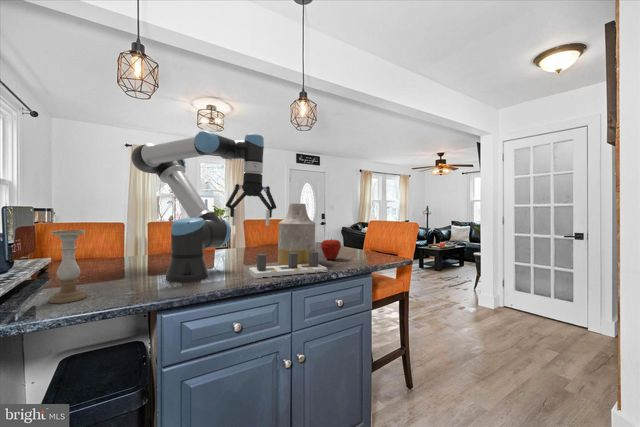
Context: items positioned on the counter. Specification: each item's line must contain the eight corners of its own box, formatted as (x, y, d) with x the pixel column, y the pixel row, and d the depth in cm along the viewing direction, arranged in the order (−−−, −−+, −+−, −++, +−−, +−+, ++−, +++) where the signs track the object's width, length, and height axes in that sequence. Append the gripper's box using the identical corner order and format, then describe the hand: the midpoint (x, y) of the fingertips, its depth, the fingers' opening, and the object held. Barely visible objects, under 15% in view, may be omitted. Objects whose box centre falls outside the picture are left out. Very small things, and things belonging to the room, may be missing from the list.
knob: (312, 266, 132) (312, 252, 132) (309, 264, 136) (309, 251, 135) (318, 265, 134) (318, 252, 133) (315, 264, 137) (315, 251, 137)
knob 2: (290, 267, 128) (291, 253, 128) (288, 266, 131) (288, 252, 131) (297, 267, 129) (297, 253, 129) (294, 265, 133) (294, 252, 133)
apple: (331, 257, 170) (332, 236, 170) (344, 260, 162) (345, 238, 162) (316, 259, 163) (317, 237, 163) (329, 262, 155) (330, 239, 155)
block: (258, 269, 122) (258, 255, 122) (256, 268, 126) (257, 254, 125) (265, 269, 124) (266, 255, 123) (263, 267, 127) (263, 253, 127)
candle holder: (44, 299, 87) (44, 230, 87) (81, 293, 94) (81, 229, 94) (54, 305, 82) (54, 232, 82) (92, 298, 89) (92, 231, 89)
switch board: (254, 278, 117) (254, 272, 117) (248, 272, 128) (248, 266, 128) (327, 272, 131) (327, 267, 131) (316, 267, 142) (316, 262, 142)
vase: (308, 268, 138) (309, 203, 137) (271, 266, 143) (272, 202, 142) (318, 262, 156) (319, 204, 155) (286, 259, 160) (286, 203, 160)
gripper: (222, 169, 111) (220, 226, 112) (285, 175, 122) (283, 226, 123) (219, 171, 118) (217, 224, 118) (279, 176, 129) (277, 225, 130)
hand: (251, 225), depth 121 cm, fingers open, 13 cm apart
